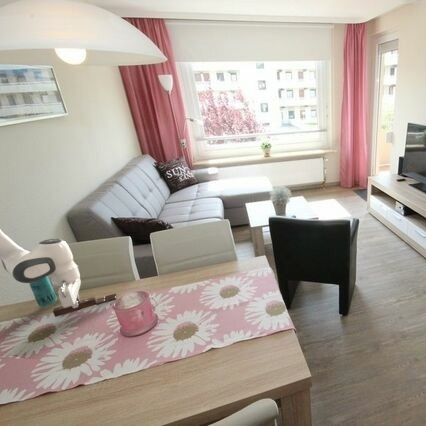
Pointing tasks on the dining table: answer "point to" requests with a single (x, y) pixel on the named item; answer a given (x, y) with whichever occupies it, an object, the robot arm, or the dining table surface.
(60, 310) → the brown long bar
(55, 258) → the robot arm
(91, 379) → the dining table surface
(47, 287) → the beverage bottle
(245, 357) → the dining table surface
